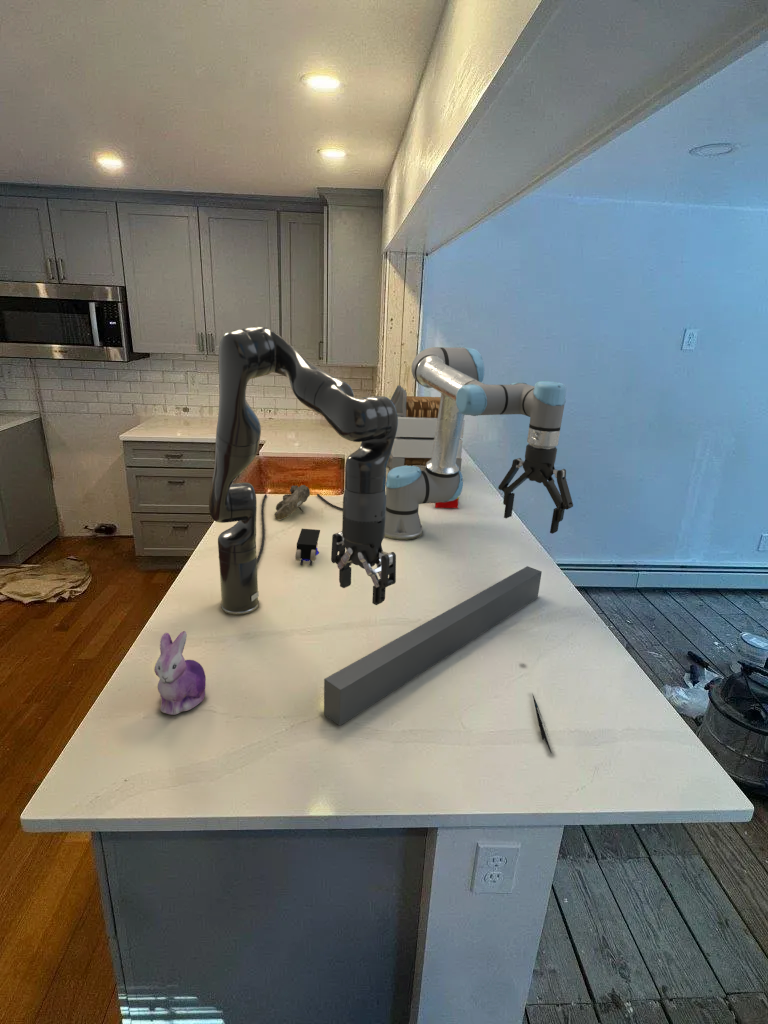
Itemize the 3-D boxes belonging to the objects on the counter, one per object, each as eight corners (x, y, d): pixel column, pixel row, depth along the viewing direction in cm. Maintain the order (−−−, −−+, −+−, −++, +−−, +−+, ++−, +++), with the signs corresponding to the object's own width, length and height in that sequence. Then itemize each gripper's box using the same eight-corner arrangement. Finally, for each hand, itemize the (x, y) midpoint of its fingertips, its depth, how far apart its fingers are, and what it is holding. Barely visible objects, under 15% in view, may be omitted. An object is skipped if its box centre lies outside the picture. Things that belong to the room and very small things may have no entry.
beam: (523, 592, 162) (527, 566, 159) (537, 597, 159) (541, 571, 157) (323, 714, 110) (324, 678, 107) (339, 726, 107) (340, 690, 104)
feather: (523, 669, 129) (529, 663, 128) (551, 758, 102) (558, 750, 101) (517, 665, 128) (523, 659, 128) (543, 753, 102) (550, 746, 101)
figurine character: (316, 572, 171) (321, 547, 184) (316, 550, 168) (320, 527, 181) (294, 572, 171) (300, 547, 184) (293, 550, 167) (299, 526, 181)
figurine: (161, 723, 106) (153, 655, 100) (154, 691, 114) (147, 626, 109) (213, 709, 110) (208, 643, 105) (202, 680, 118) (198, 616, 113)
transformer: (382, 463, 289) (386, 382, 275) (445, 464, 293) (451, 384, 279) (390, 482, 257) (394, 392, 243) (460, 483, 261) (468, 394, 247)
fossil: (279, 491, 226) (308, 470, 221) (295, 509, 228) (323, 489, 223) (264, 515, 206) (294, 493, 201) (281, 534, 209) (312, 514, 204)
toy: (452, 466, 252) (464, 476, 223) (451, 496, 255) (462, 509, 226) (425, 465, 252) (433, 475, 222) (424, 495, 254) (431, 508, 225)
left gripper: (321, 506, 101) (320, 587, 106) (378, 529, 92) (374, 616, 97) (351, 497, 106) (349, 575, 112) (409, 518, 97) (403, 602, 103)
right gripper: (491, 437, 147) (482, 514, 154) (582, 458, 131) (567, 542, 138) (506, 433, 152) (497, 508, 159) (596, 453, 136) (581, 535, 144)
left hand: (361, 594), depth 104 cm, fingers open, 8 cm apart
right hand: (530, 524), depth 149 cm, fingers open, 13 cm apart
